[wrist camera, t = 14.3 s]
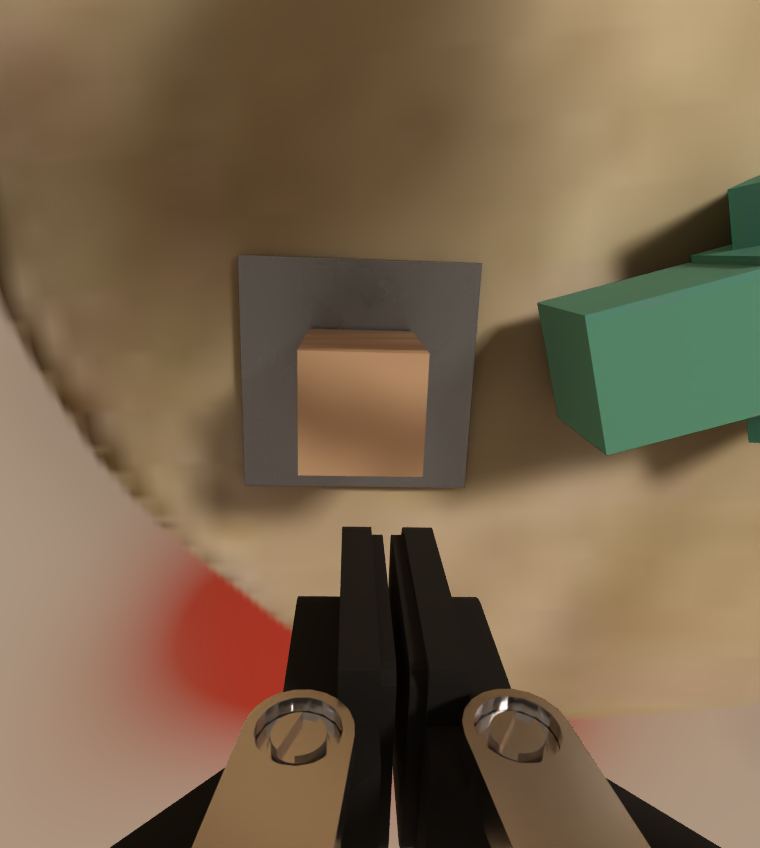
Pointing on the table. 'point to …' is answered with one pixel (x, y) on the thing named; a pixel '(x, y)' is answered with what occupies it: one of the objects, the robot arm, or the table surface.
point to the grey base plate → (354, 310)
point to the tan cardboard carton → (361, 403)
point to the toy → (663, 344)
